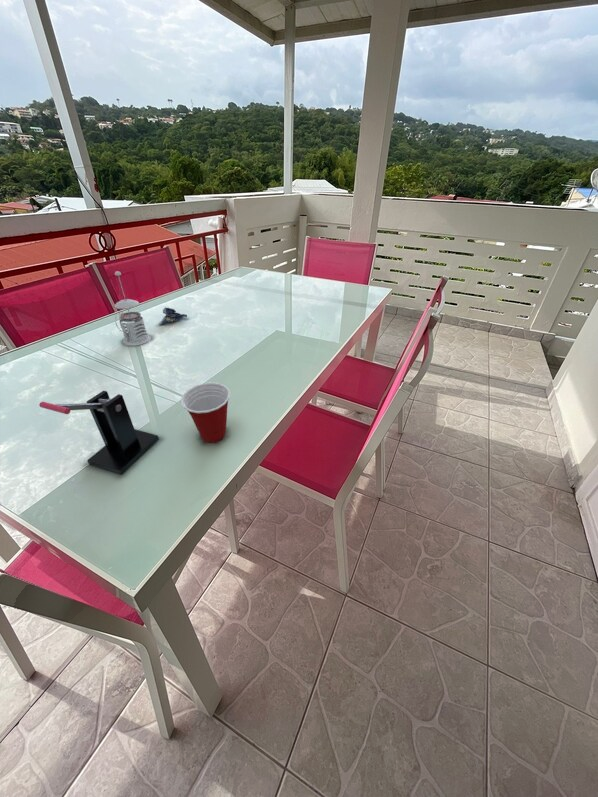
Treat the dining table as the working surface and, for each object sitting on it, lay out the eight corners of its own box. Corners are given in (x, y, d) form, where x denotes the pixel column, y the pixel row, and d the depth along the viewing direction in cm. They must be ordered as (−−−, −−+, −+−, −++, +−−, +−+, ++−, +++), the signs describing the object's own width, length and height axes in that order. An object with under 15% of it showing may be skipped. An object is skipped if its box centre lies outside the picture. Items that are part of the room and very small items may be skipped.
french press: (156, 336, 128) (139, 268, 113) (137, 349, 118) (115, 277, 104) (134, 333, 130) (114, 266, 115) (113, 345, 120) (89, 275, 106)
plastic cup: (180, 441, 78) (169, 400, 72) (210, 417, 86) (203, 377, 80) (216, 457, 74) (208, 414, 68) (244, 429, 82) (239, 389, 75)
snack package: (154, 319, 143) (159, 327, 134) (153, 304, 140) (158, 311, 131) (183, 318, 149) (189, 327, 140) (183, 304, 146) (189, 312, 137)
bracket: (121, 474, 70) (97, 420, 61) (88, 464, 72) (61, 410, 64) (159, 439, 79) (143, 387, 71) (128, 430, 81) (109, 379, 73)
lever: (63, 418, 56) (65, 404, 56) (38, 411, 58) (39, 397, 58) (123, 413, 69) (125, 402, 69) (100, 407, 70) (102, 396, 70)
